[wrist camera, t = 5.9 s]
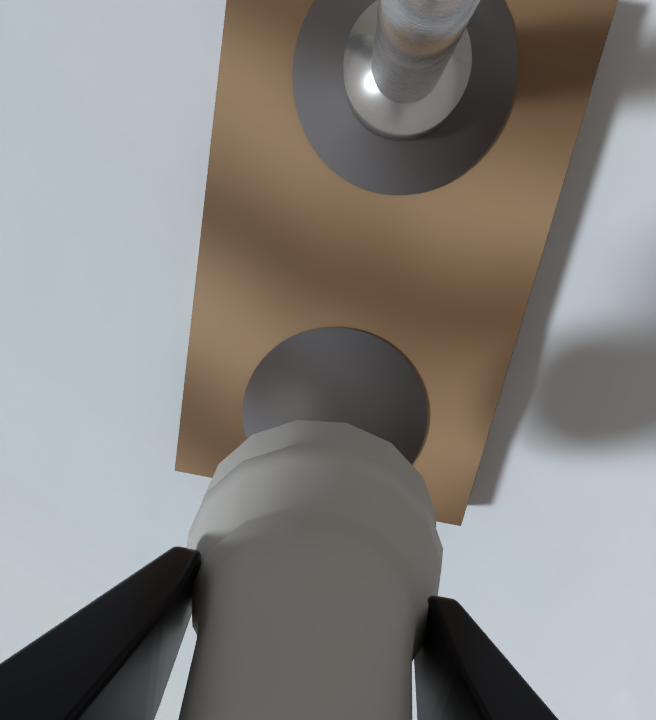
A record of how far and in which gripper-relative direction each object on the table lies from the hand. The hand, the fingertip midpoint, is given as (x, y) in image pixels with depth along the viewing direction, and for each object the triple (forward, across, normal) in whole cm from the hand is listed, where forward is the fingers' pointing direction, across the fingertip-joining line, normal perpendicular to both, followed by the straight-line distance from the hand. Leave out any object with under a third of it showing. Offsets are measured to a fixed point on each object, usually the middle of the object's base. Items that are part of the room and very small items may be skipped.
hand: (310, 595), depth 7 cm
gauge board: (+9, 0, -5) cm, 10 cm away
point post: (+8, 0, -10) cm, 13 cm away
